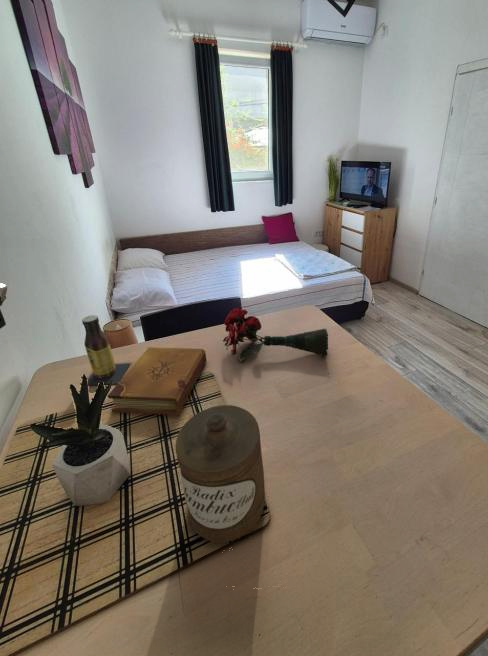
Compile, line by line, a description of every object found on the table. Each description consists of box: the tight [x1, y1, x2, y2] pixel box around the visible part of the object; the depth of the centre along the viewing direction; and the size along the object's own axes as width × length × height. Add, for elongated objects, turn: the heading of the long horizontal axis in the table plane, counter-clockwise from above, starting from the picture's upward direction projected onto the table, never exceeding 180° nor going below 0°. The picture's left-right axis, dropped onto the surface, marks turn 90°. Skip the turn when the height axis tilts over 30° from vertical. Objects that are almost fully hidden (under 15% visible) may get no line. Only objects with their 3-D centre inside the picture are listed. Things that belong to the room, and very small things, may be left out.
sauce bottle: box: [81, 314, 116, 378], centre depth 98 cm, size 7×6×20 cm
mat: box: [87, 362, 131, 387], centre depth 101 cm, size 10×10×1 cm
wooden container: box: [175, 404, 266, 544], centre depth 60 cm, size 15×15×22 cm
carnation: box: [222, 307, 329, 363], centre depth 111 cm, size 16×18×35 cm
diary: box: [107, 346, 207, 416], centre depth 95 cm, size 23×19×6 cm
